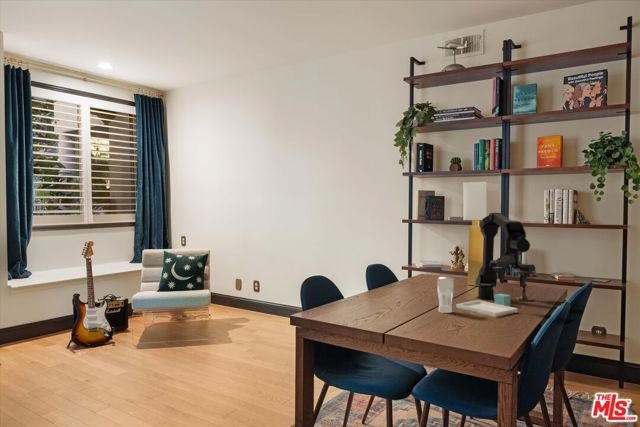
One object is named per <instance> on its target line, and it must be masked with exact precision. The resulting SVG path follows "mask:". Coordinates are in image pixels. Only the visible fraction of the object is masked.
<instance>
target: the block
mask: <svg viewBox="0 0 640 427" xmlns="http://www.w3.org/2000/svg"><path fill="white" fill-rule="evenodd" d="M493 300H494V302H493V303H494V304H499V305H504V306H509V307H511V294H505V293H497V294H496V293H495V294H494V299H493Z"/></svg>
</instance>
